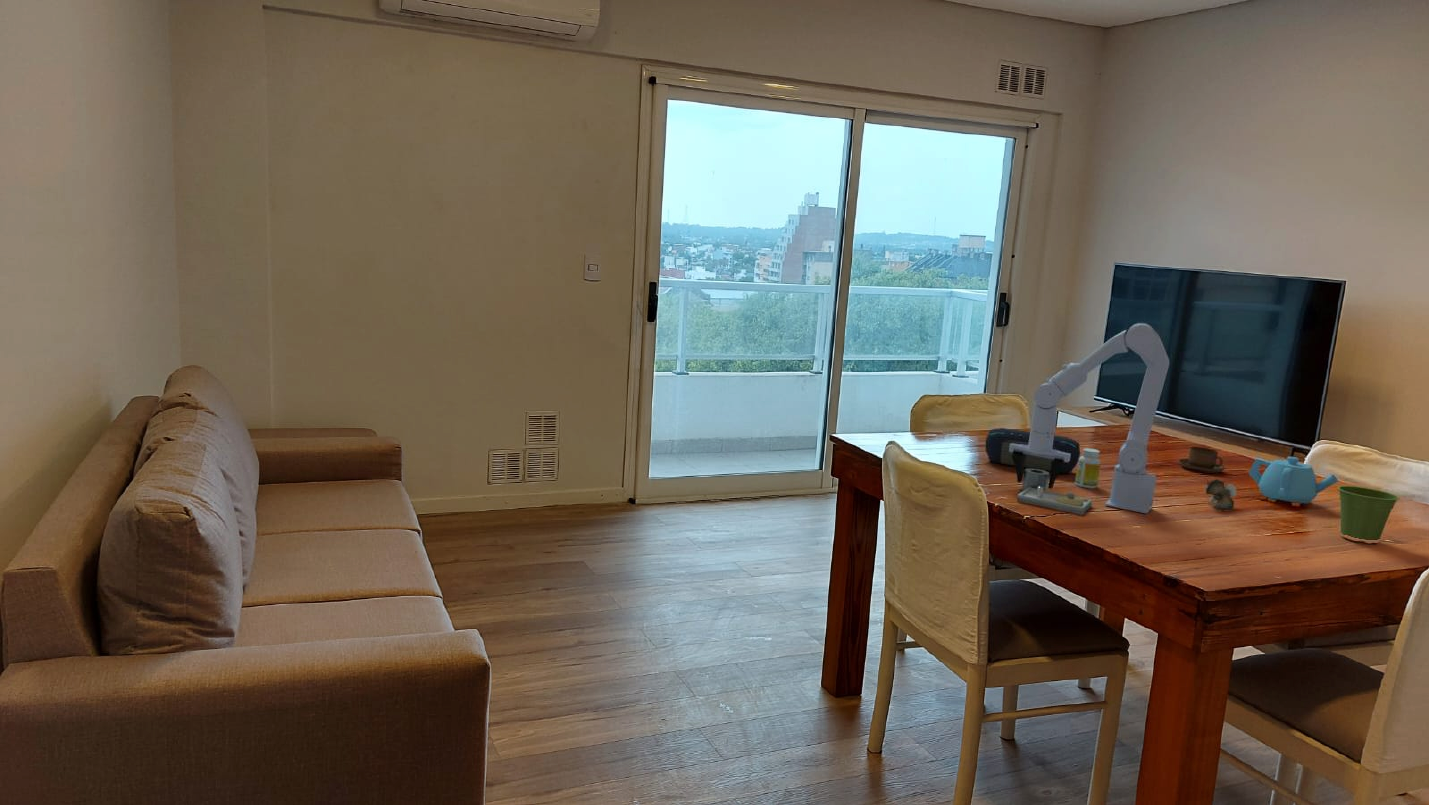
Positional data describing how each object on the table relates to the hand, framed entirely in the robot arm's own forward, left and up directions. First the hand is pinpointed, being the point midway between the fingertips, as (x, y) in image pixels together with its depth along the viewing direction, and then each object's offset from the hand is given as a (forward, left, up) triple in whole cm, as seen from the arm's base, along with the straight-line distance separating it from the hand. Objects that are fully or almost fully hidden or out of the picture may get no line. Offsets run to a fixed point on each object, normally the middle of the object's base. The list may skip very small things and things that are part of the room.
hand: (1035, 484), depth 243 cm
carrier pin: (-4, +9, -2) cm, 10 cm away
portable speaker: (+8, -26, -2) cm, 28 cm away
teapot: (-54, -44, -2) cm, 70 cm away
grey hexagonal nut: (0, 0, -2) cm, 2 cm away
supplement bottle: (-9, -17, -2) cm, 19 cm away
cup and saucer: (-31, -68, -2) cm, 75 cm away
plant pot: (-69, -16, -2) cm, 71 cm away
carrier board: (-7, +9, -2) cm, 12 cm away
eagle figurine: (-39, -23, -2) cm, 46 cm away
